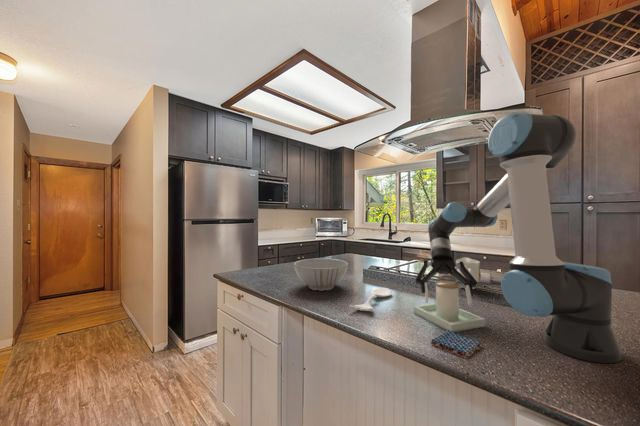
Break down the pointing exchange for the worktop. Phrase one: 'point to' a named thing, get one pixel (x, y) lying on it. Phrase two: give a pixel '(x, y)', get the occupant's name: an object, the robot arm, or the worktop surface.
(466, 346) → the woven mat
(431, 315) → the tray
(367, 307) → the spoon
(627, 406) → the worktop surface
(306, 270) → the decorative bowl
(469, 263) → the pitcher
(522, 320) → the worktop surface
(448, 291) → the canister
